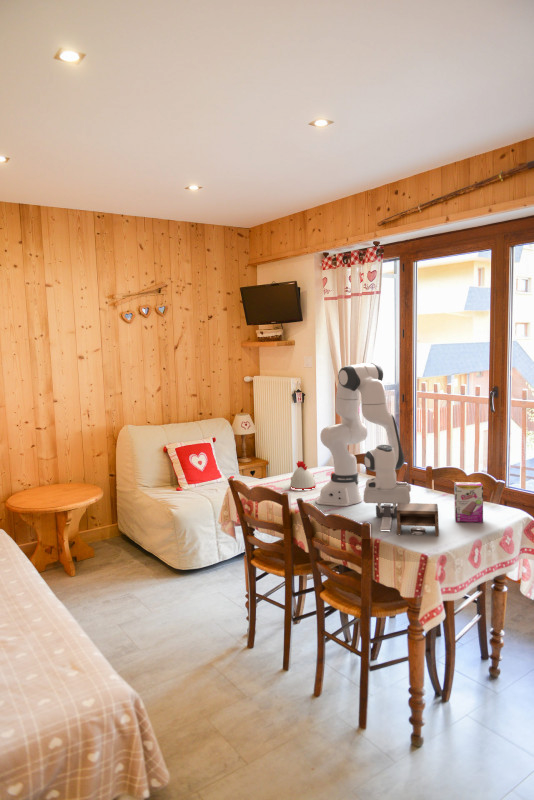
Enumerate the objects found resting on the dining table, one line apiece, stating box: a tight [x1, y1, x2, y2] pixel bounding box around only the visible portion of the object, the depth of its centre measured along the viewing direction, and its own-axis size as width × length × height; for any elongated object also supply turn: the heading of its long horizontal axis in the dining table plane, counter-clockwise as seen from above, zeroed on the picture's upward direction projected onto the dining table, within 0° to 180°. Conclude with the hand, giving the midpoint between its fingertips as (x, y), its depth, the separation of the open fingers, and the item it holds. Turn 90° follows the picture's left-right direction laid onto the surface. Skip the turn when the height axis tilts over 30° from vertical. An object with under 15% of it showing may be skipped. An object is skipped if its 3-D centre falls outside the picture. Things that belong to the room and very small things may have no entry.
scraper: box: [375, 503, 397, 531], centre depth 234 cm, size 10×20×6 cm, turn 165°
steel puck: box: [409, 526, 427, 535], centre depth 222 cm, size 6×6×2 cm
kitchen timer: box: [289, 460, 317, 490], centre depth 299 cm, size 14×14×15 cm
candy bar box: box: [453, 481, 484, 524], centre depth 231 cm, size 11×5×16 cm, turn 77°
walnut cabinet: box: [396, 502, 440, 537], centre depth 222 cm, size 16×10×10 cm, turn 75°
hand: (387, 512), depth 240 cm, fingers closed on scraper, 3 cm apart
